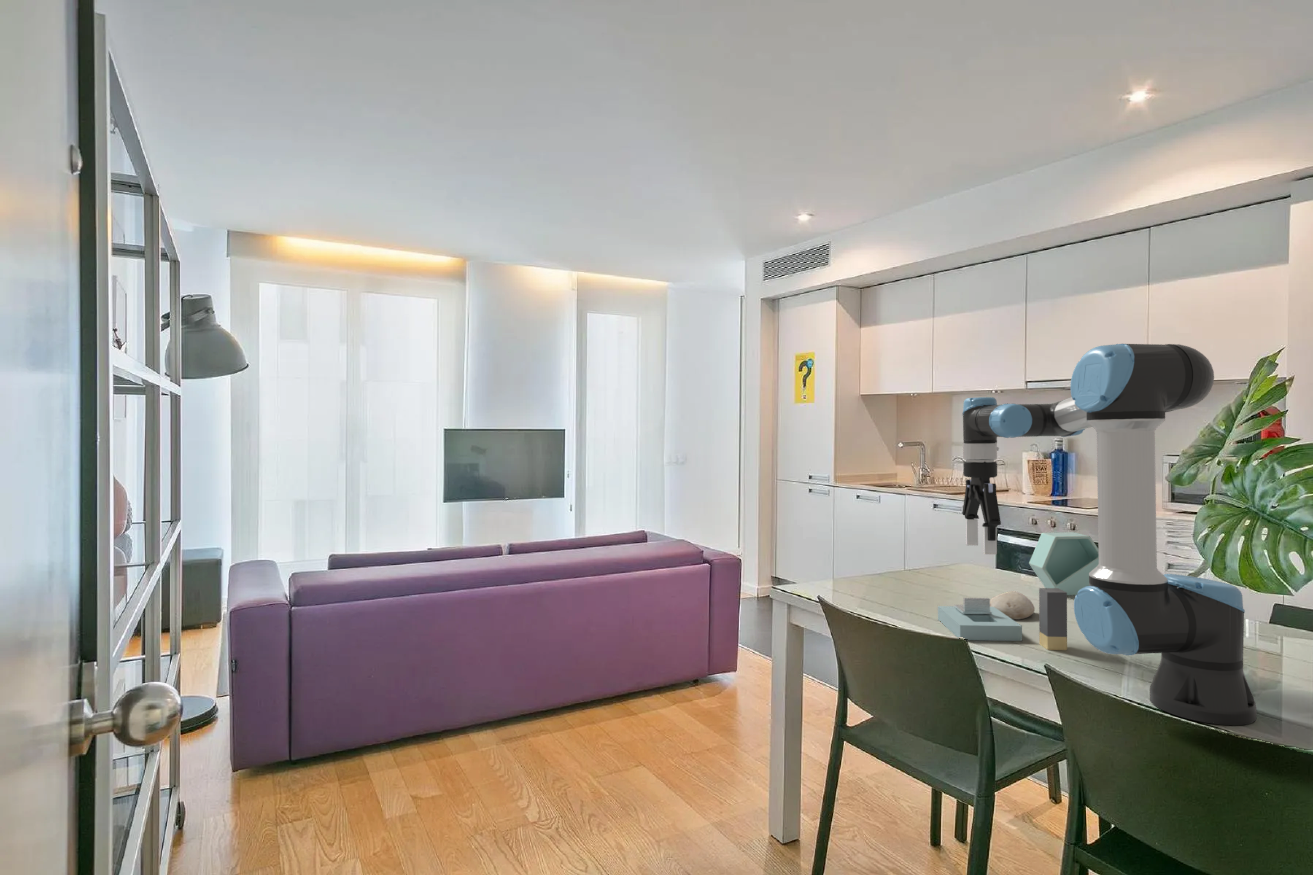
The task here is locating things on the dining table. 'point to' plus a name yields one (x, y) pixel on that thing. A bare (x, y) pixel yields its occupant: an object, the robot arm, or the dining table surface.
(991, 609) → the socket board
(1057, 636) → the plug
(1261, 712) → the dining table surface
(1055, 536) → the planter
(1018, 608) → the stone
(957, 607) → the shutter
